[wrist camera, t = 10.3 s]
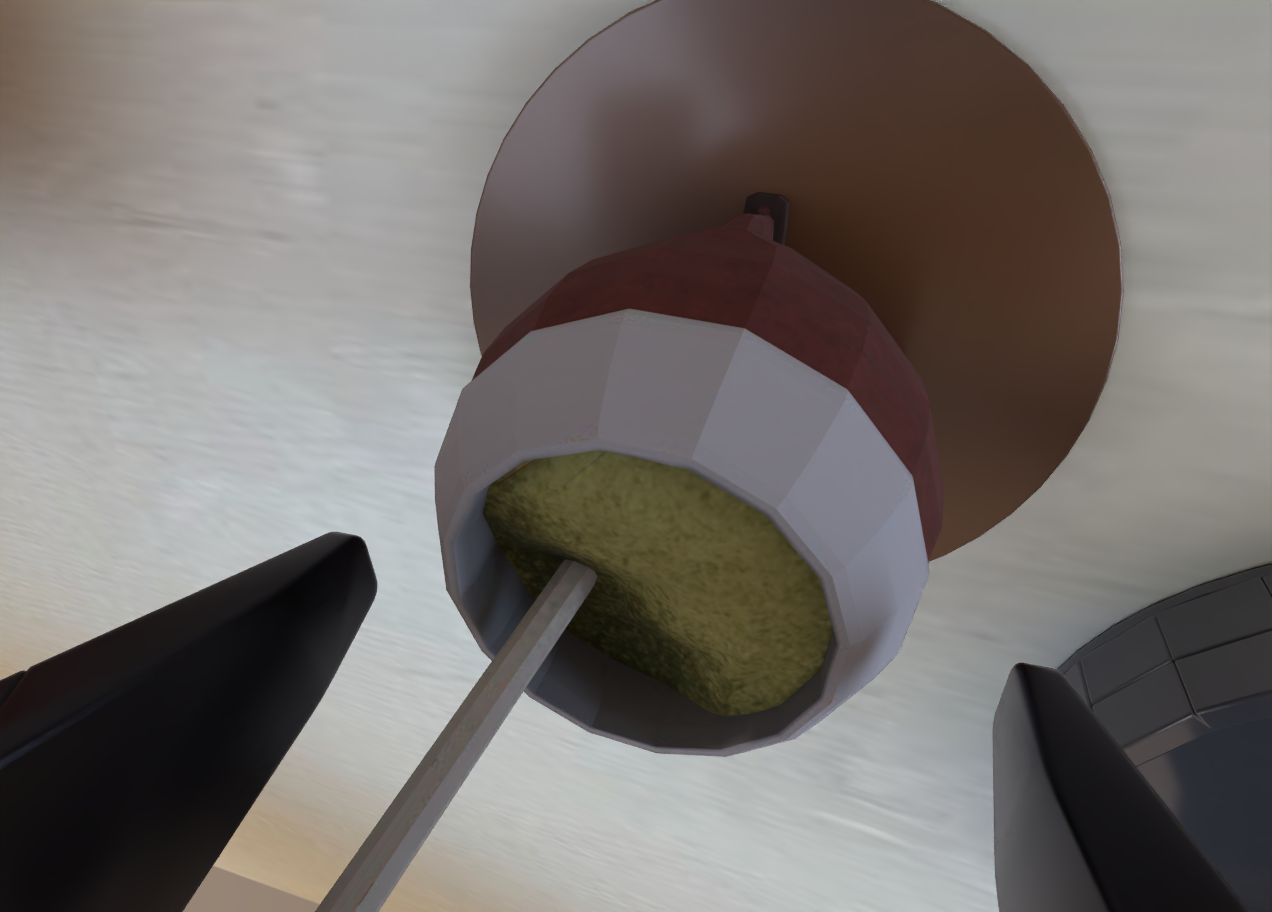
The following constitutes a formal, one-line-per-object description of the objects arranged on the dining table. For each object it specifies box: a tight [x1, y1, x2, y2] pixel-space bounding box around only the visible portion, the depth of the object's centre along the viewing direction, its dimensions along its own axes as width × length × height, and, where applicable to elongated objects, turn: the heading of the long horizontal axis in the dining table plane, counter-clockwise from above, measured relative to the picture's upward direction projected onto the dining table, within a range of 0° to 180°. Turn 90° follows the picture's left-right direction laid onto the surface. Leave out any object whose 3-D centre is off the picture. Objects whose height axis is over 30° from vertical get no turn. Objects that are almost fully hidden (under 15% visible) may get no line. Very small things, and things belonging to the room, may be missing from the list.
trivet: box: [470, 0, 1123, 561], centre depth 15 cm, size 13×13×1 cm
